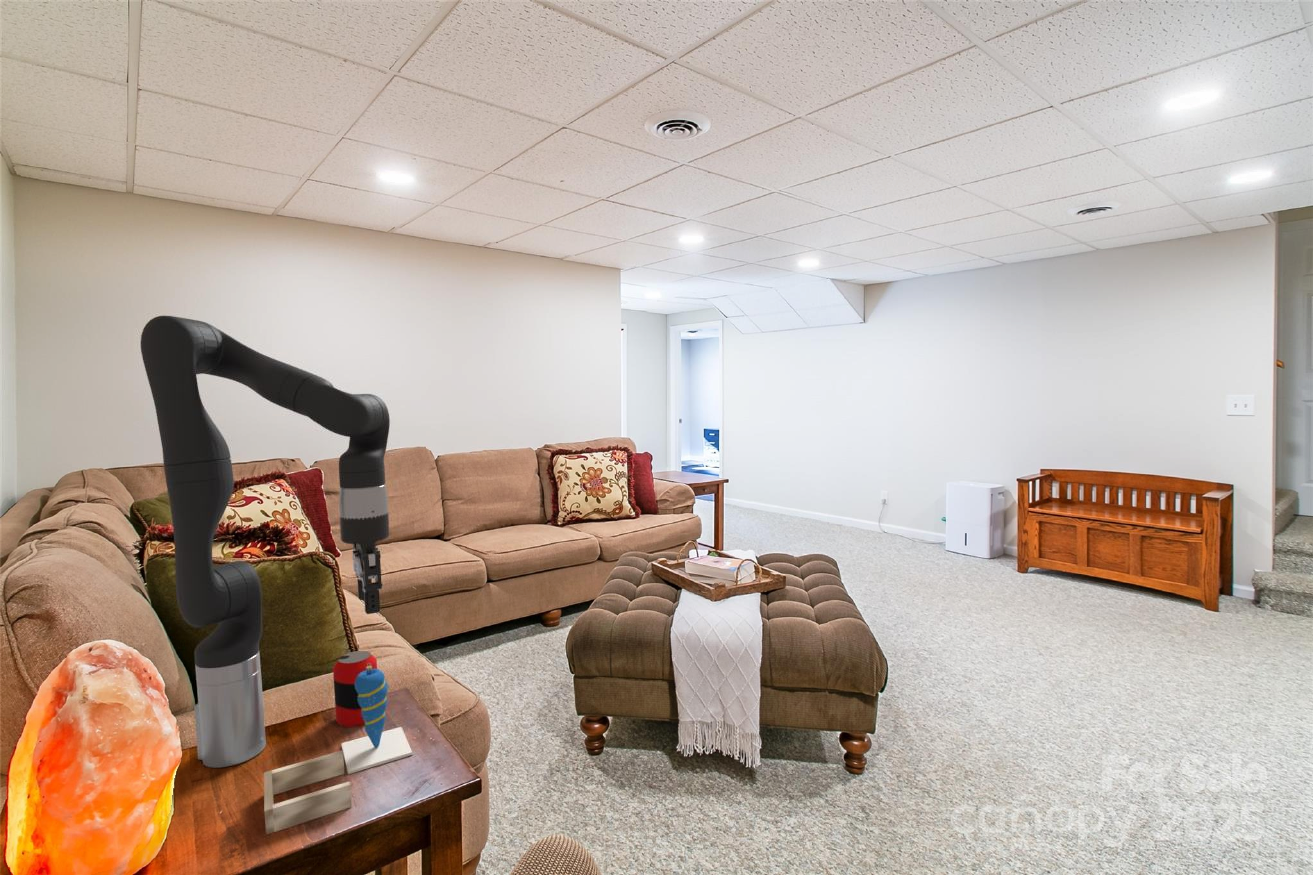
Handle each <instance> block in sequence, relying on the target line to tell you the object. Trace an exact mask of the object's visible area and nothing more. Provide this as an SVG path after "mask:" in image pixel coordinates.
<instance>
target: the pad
mask: <svg viewBox="0 0 1313 875" xmlns="http://www.w3.org/2000/svg"><path fill="white" fill-rule="evenodd" d="M341 749H342V750H341V751H343V759H344V763H345V766H346V771H347V775H350V774H354V773H356V772H360V771H363V770H366V769H367V770H368V769H370V768H373V767H377V766H380V765H384V764H386V763H390V762H393V761H396V760H400V759H403V758H407V757H410V756H413V751H412V748H411V746H410V744H409V741H408V739H407V736H406V734H405V732H404V729H403V727H402V726H399V727H395V728H391V729H389V730H385V731H382V735H381V739H380V744H379V746H378V747H377V748H376V747H374V746H373V744H372V742H371V740H370V738H369V737H368V735H366V736H363V737H360V738H356V739H352V740H348V741H345V742H341Z"/></svg>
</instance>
